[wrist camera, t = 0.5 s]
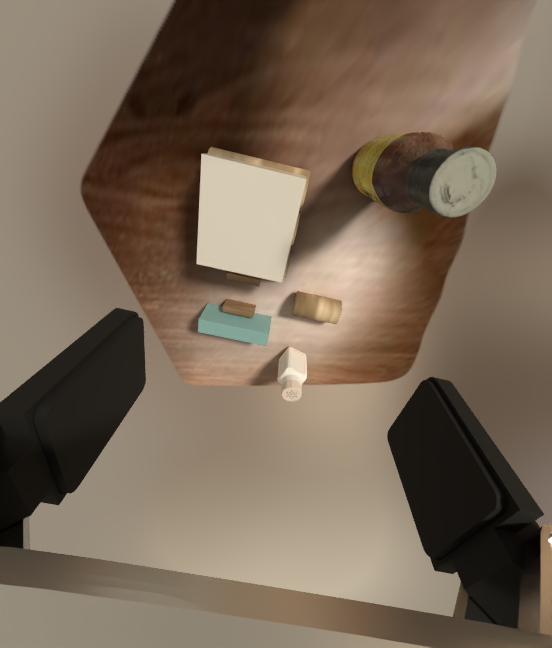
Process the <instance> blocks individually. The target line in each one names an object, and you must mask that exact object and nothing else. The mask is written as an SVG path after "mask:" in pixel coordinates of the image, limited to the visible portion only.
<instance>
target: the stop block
mask: <svg viewBox="0 0 552 648" xmlns="http://www.w3.org/2000/svg"><path fill="white" fill-rule="evenodd" d="M222 309H223V307H222V306H218V305H213V304H207V306H206V307H205V309H204V311H203V312H202V314H201V316H200V318H199V323H198V332H200V333H205V334H210V335H215V336H220V337H225V338H229V339H234V340H239V341H244V342H249V343H254V344H259V345H263V346H266V344H267V340H268V335H269V330H270V323H271V317H270V316H265V315H260V314H256V313H254V315H253V318H250V317H246V316H241V315H236V314H231V313H227V312H222Z"/></svg>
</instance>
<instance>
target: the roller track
mask: <svg viewBox="0 0 552 648" xmlns="http://www.w3.org/2000/svg"><path fill="white" fill-rule="evenodd" d="M208 153H212V154H217V155H221V156H225V157H229V158H233V159H237V160H241V161H245V162H250V163H254V164H258V165H262V166H266V167H270V168H274V169H278V170H283V171H287V172H291V173H295V174H299V175H303V176H306V184H305V188H304V192H303V196H302V200H301V205H300V206H303V203H304V199H305V195H306V191H307V187H308V183H309V178H310V172H311V171H308V170H304V169H300V168H296V167H292V166H288V165H284V164H280V163H276V162H271V161H267V160H263V159H259V158H255V157H251V156H247V155H243V154H239V153H235V152H230V151H226V150H222V149H218V148H214V147H210V148H209V150H208ZM299 218H300V214H299V213H298V217H297V221H296V226H295V230H294V234H293V238H292V242H291V244H292V245H293V243H294V240H295V237H296V232H297V228H298V224H299ZM290 255H291V250H290V251H289V255H288V259H287V263H286V268H285V272H284V276H283V278H285V277H286V273H287V269H288V265H289V260H290ZM226 279H229V280H233V281H238V282H242V283H247V284H252V285H256V286H259V284H260V280H261V278H258V277H254V276H249V275H245V274H240V273H236V272H231V271H227V273H226ZM255 307H256V305H252V304H248V303H243V302H238V301H234V300H229V299H226V301H225V303H224V305H223V309H222V312H227V313H231V314H236V315H241V316H246V317H250V318H253V315H254V312H255Z"/></svg>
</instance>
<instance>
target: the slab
mask: <svg viewBox="0 0 552 648" xmlns="http://www.w3.org/2000/svg"><path fill="white" fill-rule="evenodd" d="M305 184H306V176H303V175H299V174H295V173H291V172H287V171H283V170H278V169H274V168H270V167H266V166H262V165H258V164H254V163H250V162H245V161H241V160H237V159H233V158H229V157H225V156H221V155H217V154H212V153H205V154H202V155H201V177H200V198H199V220H198V242H197V264H199V265H204V266H208V267H213V268H217V269H222V270H226V271H231V272H236V273H240V274H245V275H249V276H254V277H258V278H263V279H267V280H272V281H277V282H281V283H282V280H283V276H284V272H285V268H286V263H287V259H288V255H289V251H290V247H291V242H292V238H293V234H294V230H295V226H296V221H297V217H298V213H299V209H300V205H301V200H302V196H303V192H304V188H305Z"/></svg>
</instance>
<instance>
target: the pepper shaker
mask: <svg viewBox="0 0 552 648" xmlns="http://www.w3.org/2000/svg"><path fill="white" fill-rule="evenodd" d="M306 378H307V364H306V355H305V354H304V353H302V352H300V351H298V350H296V349H294V348H292V347H288V348H287V349H286V351H285V352H284V353H283V354H282V356H281V357H280V358H279V367H278V378H277V381H278V382H279V383H280V384H282V393H281V394H282V396H283V398H284V399H285V400H287V401H297V400H298V399H300V398H301V395H302V384H303V382H304V381H305V380H306Z"/></svg>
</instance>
